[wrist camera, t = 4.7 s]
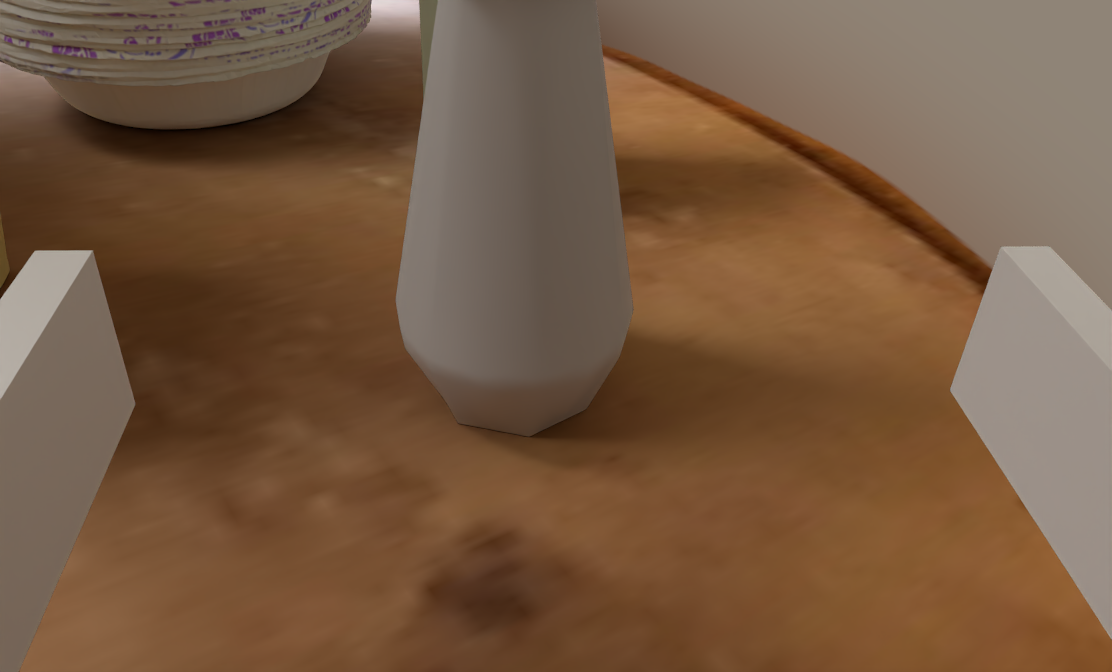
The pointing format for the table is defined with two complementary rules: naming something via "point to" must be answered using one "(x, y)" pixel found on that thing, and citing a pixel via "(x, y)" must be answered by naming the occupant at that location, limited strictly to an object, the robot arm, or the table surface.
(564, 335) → the salt shaker
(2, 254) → the cheese
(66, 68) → the paper bowls
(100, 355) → the robot arm
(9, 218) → the table surface
